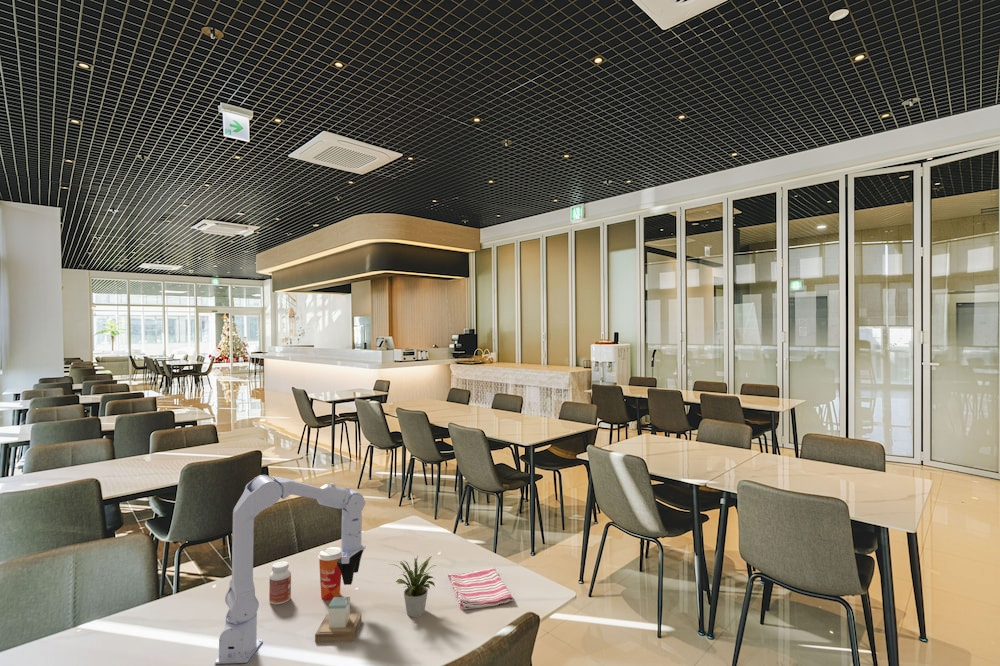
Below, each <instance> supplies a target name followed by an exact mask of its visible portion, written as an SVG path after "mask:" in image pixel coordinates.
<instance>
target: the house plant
mask: <svg viewBox="0 0 1000 666" xmlns="http://www.w3.org/2000/svg"><path fill="white" fill-rule="evenodd" d="M418 556H419V555H417V556H416V557H414V564H413V565H414V570H412V569H411V567H410V566H409V564H408V562H407V561H405V560H404V559H403V560H402V561H400V562H399V564H400V565H401V566H402V567H403V568H401V567H400V566H399V565H397V564H391V563H389V564H388V565H392V566H395V567H398V568H399V569H401V571H402V574H399V576H403V577H404V578H405V579H406V580H404V579H402V578H399V579H397V580H396V581H395V583H397V585H400V584H404V585H405V586H404V588H405V589H404V591H403V597H404V598H403V599H404V603H405V609H406V610H405V611H406V615H407V616H408V617H412V618H418V617H422V616H423V615H424V614H425V611H426V604H427V599H428V591H429V590H430V585H432V586H433V587H436V585H435V582H434V581H432V580H430V579H434V580H436V578H435V577H434V576H431V575H430V572H428V571H429V570H431V568H433V567H435V566H437V565H435V564H434V565H432V566H430V567H429V568H427V567H428V565H429V562H430V560H431V558H432V555H431V556H429V557H428V558H426V560H425V561H424V562H422V563H421V564H420V566H418V558H419V557H418ZM404 562H405V563H404ZM405 564H406V565H405ZM426 568H427V570H426ZM402 569H404V570H402ZM425 570H426V571H425ZM432 573H433V572H431V574H432ZM406 574H407V575H406ZM406 581H407V582H406Z"/></svg>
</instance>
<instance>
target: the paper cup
mask: <svg viewBox="0 0 1000 666" xmlns="http://www.w3.org/2000/svg"><path fill="white" fill-rule="evenodd" d="M317 558H318V559H319V560H318V561H319V579H320V580H319V581H320V584H319V585H320V597H321V599H322V600H323V601H332V599H333V597H340V595H341V583H342V574H341V571H340V569H339V567H338V566H337V561H338V559H342V554H341V547H337V546H335V547H334V546H332V547H327V548H324V549H322V550H320V552H319V553H318V556H317Z"/></svg>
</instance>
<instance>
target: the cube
mask: <svg viewBox="0 0 1000 666" xmlns="http://www.w3.org/2000/svg"><path fill="white" fill-rule="evenodd" d="M328 614H329V628H344V627H346V625H347V623H348V621H349V619H350V614H351V596H339V597H333V599H332V600H330V603H329V604H328Z"/></svg>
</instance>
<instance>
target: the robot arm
mask: <svg viewBox="0 0 1000 666" xmlns="http://www.w3.org/2000/svg"><path fill="white" fill-rule="evenodd" d="M291 495H293V496H297V497H302V498H303V497H304V498H308V499H315V500H316V501H317V503H318V504H319V505H320V506H325V507H329V508H335V509H338V510H339V509H341V540H340V541H341V545H340V548H341V554H342V559H338V561H337V566H338V567H339V569H340V571H341V579H342V583H343V585H344V586H349V585H350V586H351V585H352V584H353V581H354V575H355V573H356V574H358V572H359V569H360V564H361V560H362V555H363V553H364V550H365V549H366V545H365V544H362V535H363V533H362V521H363V519H362V518H363V517H362V512H363V509H364V508H365V506H366V505H365V504H366V500H365V498H364V496H363V494H362V493H359V491H357V490H355V489H353V488H351V487H345V488H343V487H340V486H336V483H332V482H330V483H329V484H328V483H325V484H323V485H321V486H320V487H319V486H315V485H311V484H308V483H304V482H300V481H297V480H293V479H291V478H285V477H280V476H276V475H274V476H273V475H272V477H271V476H269V475H267V474H261V475H258V476H255V477H254V478H253V479H252V480H250V481H249V482H248V483H247V484H246V485H245V487H244V491H243V493H242V494H241V496H240V498H239V499H238V501H237V503H236V504H235V506H234V508H233V511H232V537H231V538H232V539H231V540H232V541H231V543H232V547H231V550H232V551H231V579H230V581H229V586H228V590H227V593H225V596H224V597H225V598H224V600H225V601H224V602H225V604H226V605H227V607H228V611H227V613H226V614H225V625H224V628H223V631H222V632H221V633H220V635H219V639H218V657H217V658H216V659H215V662H214V664H216V665H218V664H223V665H224V664H246V663H248V662H249V661H250V660H251V658H252V657H253V655H254V654H255V652H256V651H257V650H258V649H259V647H260V645H262V643H263V639H262V638H259V639H258V638H257V636H258V635H257V634H258V633H257V630H258V628H257V625H258V610H259V607H260V604H259V600H258V597H256V589H255V582H254V538H255V537H254V533H255V532H254V528H255V527H254V526H255V518H256V517H257V516H258V515H259V514H260V513H261V512H262V511H264V510H266V509H268V508H270V507H272V506H273V505H275V504H276V503H278V501H280V500H285V499H286V498H288V497H289V496H291Z"/></svg>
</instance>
